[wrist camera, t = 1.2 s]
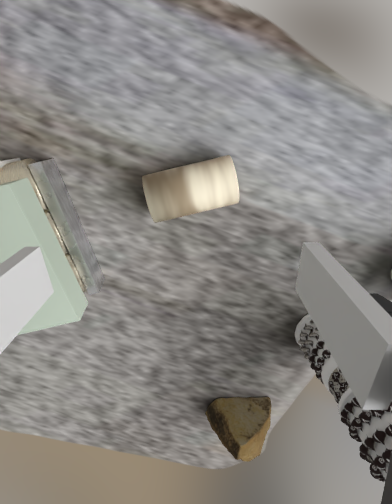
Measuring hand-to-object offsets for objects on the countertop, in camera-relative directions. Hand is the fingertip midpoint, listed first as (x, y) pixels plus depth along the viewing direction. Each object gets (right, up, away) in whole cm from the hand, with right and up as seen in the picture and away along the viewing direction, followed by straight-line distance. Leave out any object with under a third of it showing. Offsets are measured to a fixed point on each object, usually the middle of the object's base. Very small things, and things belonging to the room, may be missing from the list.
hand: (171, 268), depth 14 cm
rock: (+9, -26, +33) cm, 43 cm away
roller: (+1, +8, +17) cm, 19 cm away
